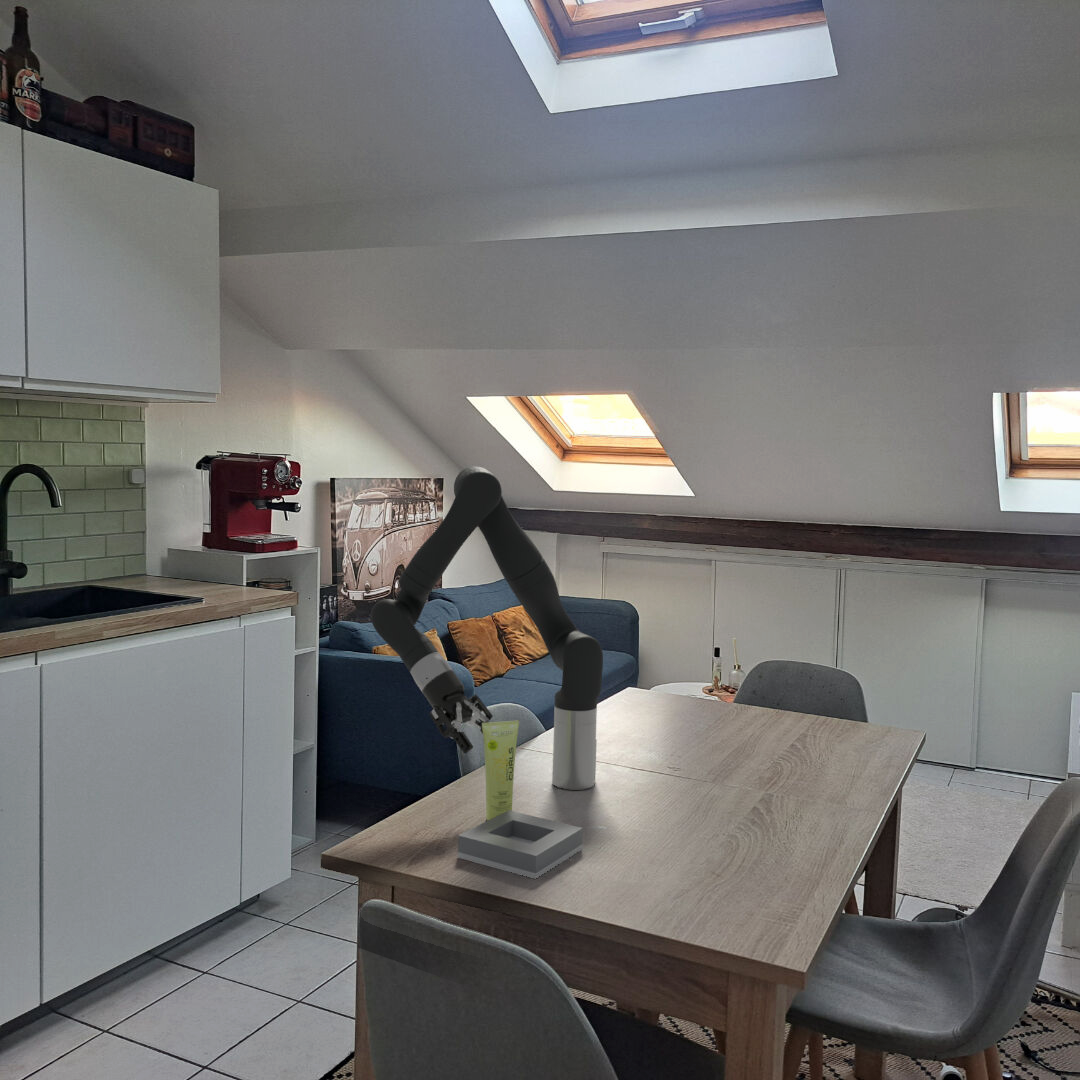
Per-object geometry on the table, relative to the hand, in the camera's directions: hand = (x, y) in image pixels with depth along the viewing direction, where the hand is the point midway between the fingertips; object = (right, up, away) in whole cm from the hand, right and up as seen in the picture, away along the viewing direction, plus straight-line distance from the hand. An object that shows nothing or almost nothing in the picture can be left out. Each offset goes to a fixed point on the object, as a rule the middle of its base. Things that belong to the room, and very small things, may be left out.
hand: (482, 745), depth 196 cm
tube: (+3, -14, -1) cm, 15 cm away
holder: (+8, -15, -18) cm, 25 cm away
